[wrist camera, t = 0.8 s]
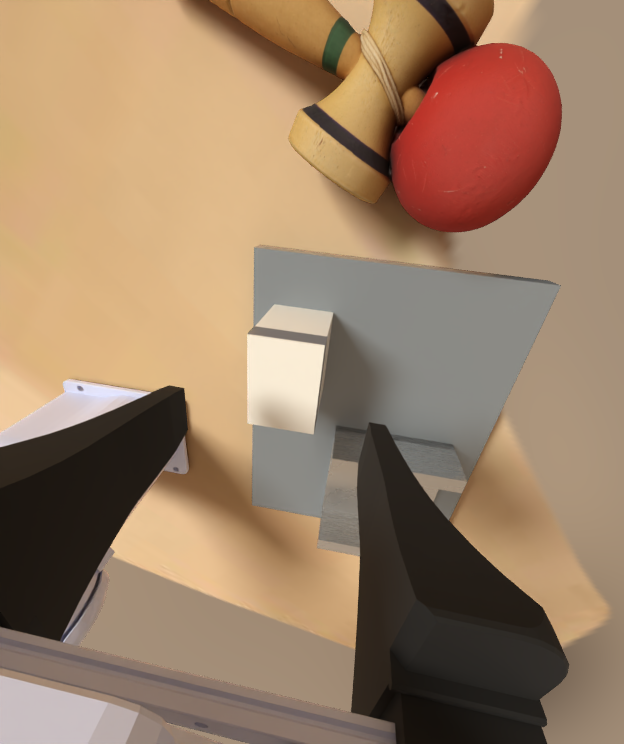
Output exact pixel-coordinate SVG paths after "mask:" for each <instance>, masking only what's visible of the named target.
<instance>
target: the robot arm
mask: <svg viewBox="0 0 624 744" xmlns="http://www.w3.org/2000/svg"><path fill="white" fill-rule="evenodd" d="M63 387H64V390H65V392H64V393H63V394H61V395H60V396H58V397H56V398H55V399H53V400H52V401H50V402H49V403H47V404H45V405H44V406H42V407H41V408H39V409H37V410H36V411H34V412H33V413H31V414H29V415H28V416H26V417H25V418H23V419H21V420H20V421H18V422H17V423H15V424H13V425H12V426H10V427H9V428H7V429H5V430H4V431H2V432H1V433H0V744H222V743H219V742H217V741H214V740H211V739H209V738H206V737H203V736H200V735H198V734H195V733H192V732H189V731H187V730H184V729H181V728H178V727H175V726H172V725H169V724H167V723H171V724H175V725H179V726H182V727H187V728H190V729H194V730H198V731H202V732H206V733H210V734H214V735H218V736H222V737H226V738H230V739H233V740H238V741H241V742H245V743H249V744H547V742H546V739H545V736H544V733H543V730H542V727H545V726H546V725H547V719H546V716H545V713H544V710H543V708H542V705H541V702H540V699H541V698H542V697H543V696H544V695H546V694H547V693H548V692H550V691H551V690H552V689H553V688H555V687H556V686H557V685H559V684H560V683H561V682H562V680H563V679H564V678H565V677H566V675H567V673H568V668H569V663H568V661H567V659H566V656H565V654H564V652H563V650H562V647H561V645H560V643H559V640H558V638H557V636H556V633H555V631H554V629H553V627H552V625H551V623H550V621H549V619H548V617H547V615H546V613H545V612H544V610H543V608H542V607H541V606H540V605H539V604H538V603H536V602H535V601H534V600H533V599H532V598H530V597H529V596H528V595H527V594H526V593H524V592H523V591H522V590H521V589H520V588H519V587H517V586H516V585H515V584H514V583H513V582H511V581H510V580H509V579H508V578H507V577H505V576H504V575H503V574H502V573H501V572H500V571H499V570H498V569H497V568H495V567H494V566H493V565H492V564H491V563H490V562H489V561H488V560H487V559H486V558H485V557H484V556H483V555H482V554H480V553H479V552H478V551H477V550H476V549H475V548H474V547H473V546H472V545H471V544H470V543H469V542H468V541H467V540H466V538H465V537H464V536H463V535H462V534H461V533H460V532H459V531H458V530H457V529H456V528H455V527H454V526H453V525H452V524H451V522H450V521H449V520H448V519H447V518H446V517H445V516H444V514H443V513H442V512H441V511H440V510H439V508H438V507H437V506H436V505H435V503H434V502H433V501H432V500H431V498H430V497H429V496H428V494H427V493H426V492H425V490H424V489H423V487H422V486H421V484H420V483H419V482H418V480H417V479H416V477H415V476H414V474H413V473H412V471H411V469H410V468H409V466H408V464H407V463H406V461H405V460H404V458H403V456H402V454H401V453H400V451H399V449H398V447H397V445H396V444H395V442H394V440H393V438H392V436H391V434H390V432H389V430H388V428H387V427H386V425H382V424H376V423H371V422H369V424H368V428H367V432H366V435H365V439H364V443H363V447H362V451H361V454H360V458H359V462H358V475H357V503H358V522H359V540H360V572H359V595H358V615H357V633H356V650H355V667H354V680H353V694H352V708H351V712H347V711H343V710H339V709H335V708H331V707H327V706H323V705H319V704H314V703H310V702H306V701H302V700H298V699H294V698H290V697H286V696H282V695H277V694H273V693H269V692H265V691H261V690H257V689H252V688H249V687H244V686H240V685H236V684H232V683H228V682H224V681H220V680H216V679H212V678H208V677H203V676H199V675H195V674H191V673H187V672H183V671H179V670H175V669H171V668H166V667H162V666H158V665H154V664H150V663H146V662H141V661H138V660H134V659H129V658H125V657H121V656H117V655H113V654H109V653H105V652H100V651H97V650H92V649H88V648H84V647H80V646H79V645H80V644H81V642H82V641H83V640H84V638H85V637H86V635H87V633H88V632H89V631H90V629H91V627H92V626H93V624H94V623H95V621H96V619H97V617H98V615H99V613H100V611H101V609H102V607H103V604H104V601H105V598H106V592H107V588H108V584H109V575H108V573H107V571H106V570H104V569H103V568H104V567H105V565H106V564H107V562H108V561H109V560H110V558H111V557H112V555H113V554H114V550H113V549H112V548H110V546H111V544H112V542H113V540H114V539H115V537H116V535H117V534H118V532H119V530H120V529H121V527H122V526H123V524H124V523H125V521H126V520H127V519H128V517H129V516H130V515H131V513H132V512H133V511H134V509H135V508H136V507H137V505H138V504H139V503H140V501H141V500H142V499H143V497H144V496H145V495H146V493H147V492H148V491H149V489H150V488H151V487H152V485H153V484H154V483H155V481H156V480H157V479H158V477H159V476H160V475H161V473H162V472H163V471H168V472H174V473H179V474H186V473H187V472H188V470H189V464H188V456H187V448H186V441H185V434H186V432H187V430H188V426H187V415H186V404H185V393H184V388H180V387H175V386H167V387H164V388H161V389H159V390H157V391H154V392H146V391H140V390H134V389H128V388H122V387H116V386H110V385H104V384H98V383H92V382H85V381H79V380H73V379H67V380H66V381H64V382H63ZM166 722H167V723H166Z"/></svg>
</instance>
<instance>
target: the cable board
mask: <svg viewBox="0 0 624 744" xmlns="http://www.w3.org/2000/svg"><path fill="white" fill-rule="evenodd" d="M560 286H561V285H558V284H556V283H553V282H551V281H547V280H539V279H531V278H523V277H514V276H507V275H499V274H491V273H481V272H474V271H466V270H458V269H450V268H442V267H434V266H426V265H418V264H410V263H402V262H394V261H385V260H377V259H369V258H361V257H353V256H345V255H337V254H329V253H321V252H313V251H305V250H297V249H289V248H280V247H272V246H264V245H259V246H257V247H254V326H256V325H257V323H258V322H259V321H260V320H261V319H262V318H263V317H264V315H265V314H266V313H267V312H268V311H269V310H270V309H271V308H272V306H273V305H274V304H276V305H284V306H291V307H298V308H305V309H313V310H320V311H327V312H333V319H332V326H331V334H330V341H329V349H328V356H327V363H326V371H325V378H324V386H323V391H322V395H321V400H320V405H319V410H318V415H317V421H316V426H315V431H314V434H307V433H301V432H295V431H289V430H283V429H277V428H271V427H265V426H259V425H253V450H252V505H254V506H259V507H265V508H270V509H275V510H281V511H286V512H291V513H297V514H302V515H307V516H313V517H318V518H321V512H322V506H323V500H324V494H325V488H326V482H327V476H328V470H329V465H330V459H331V453H332V447H333V441H334V435H335V429H336V425H339V426H345V427H351V428H357V429H363V430H367V428H368V424H369V422H371V423H376V424H382V425H386V427H387V428H388V430H389V432H390V434H393V435H399V436H405V437H411V438H418V439H424V440H430V441H436V442H442V443H448V444H453V446H454V449H455V451H456V454H457V456H458V459H459V462H460V464H461V467H462V469H463V472H464V474H465V477H466V480H467V482H468V480H469V477H470V475H471V473H472V471H473V469H474V467H475V465H476V463H477V461H478V459H479V456H480V454H481V452H482V450H483V448H484V446H485V444H486V442H487V440H488V438H489V435H490V433H491V431H492V429H493V427H494V425H495V423H496V421H497V419H498V417H499V414H500V412H501V410H502V408H503V406H504V404H505V402H506V400H507V397H508V395H509V394H510V391H511V389H512V387H513V385H514V383H515V381H516V379H517V377H518V374H519V372H520V370H521V368H522V366H523V364H524V362H525V360H526V358H527V356H528V354H529V351H530V349H531V347H532V345H533V343H534V341H535V339H536V337H537V335H538V333H539V330H540V328H541V326H542V324H543V322H544V320H545V318H546V316H547V314H548V311H549V310H550V307H551V305H552V303H553V301H554V299H555V297H556V294H557V293H558V291H559V289H560ZM466 484H467V483H466ZM461 494H462V493H457V492H451V491H445V490H438V492H437V495H436V497H435V499H434V503H435V505H436V506H437V507H438V508H439V510H440V511H441V512H442V513H443V514H444V516H445V517H446V518H447V519H448V520H449V519H450V517H451V515H452V513H453V511H454V509H455V507H456V505H457V503H458V501H459V498H460V496H461Z"/></svg>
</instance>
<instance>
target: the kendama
mask: <svg viewBox="0 0 624 744" xmlns="http://www.w3.org/2000/svg"><path fill="white" fill-rule="evenodd" d="M209 1H210V2H212V3H213V4H215V5H217V6H218V7H219V8H221V9H222V10H224V11H225V12H227V13H228V14H230V15H231V16H233V17H235V18H237V19H239V20H240V21H241V22H242V23H243V24H245V25H247V26H248V27H250V28H251V29H253V30H254V31H256V32H257V33H259V34H260V35H262V36H263V37H265V38H267V39H268V40H270V41H271V42H273V43H275V44H276V45H278V46H280V47H282V48H283V49H285V50H287V51H288V52H291V53H293V54H295V55H297V56H299V57H300V58H303V59H304V60H306V61H308V62H310V63H312V64H314V65H316V66H318V67H320V68H322V69H324V70H326V71H327V72H329V73H332V74H334V75H336V76H337V77H339V78H341V79H343V80H344V81H343V82H342V83H341V84H340V85H339V86H338V87H337V88H336V90H334V91H333V92H332V93H331V94H330V95H328V96H327V97H326V98H324V99H323V100H321V101H320V102H318V103H316V104H313V105H312V106H309V107H306V108H303V109H300V110H299V112H298V114H297V116H296V119H295V121H294V124H293V127H292V129H291V131H290V134H289V138H288V139H289V141H290V143H291V145H292V147H293V148H294V149H295V151H296V152H298V153H299V154H300V155H301V156H302V157H303V158H304V159H305V160H306V161H307V162H308V163H309V164H310V165H312V166H313V167H314V168H315V169H317V170H318V171H319V172H320V173H322V174H323V175H324V176H326V177H327V178H328V179H330V180H331V181H332V182H334V183H335V184H337V185H338V186H339V187H341V188H342V189H344V190H345V191H347V192H349V193H350V194H352V195H353V196H355V197H357V198H359V199H360V200H362V201H365V202H368V203H376V202H377V200H378V199H379V198H380V196H381V195H382V193H383V192H384V191H385V189H386V188H387V187H388V185H389V184H390V182H392V183H393V186H394V189H395V192H396V195H397V197H398V199H399V201H400V203H401V205H402V206H403V208H404V209H405V210H406V211H407V212H408V214H409V215H410V216H411V217H413V218H414V219H415V220H416V221H418V222H419V223H421V224H422V225H424V226H427V227H429V228H431V229H435V230H438V231H443V232H465V231H470V230H474V229H478V228H481V227H484V226H485V225H488V224H490V223H492V222H493V221H495V220H497V219H498V218H500V217H502V216H503V215H505V214H506V213H507V212H509V211H510V210H511V209H512V208H514V207H515V206H516V205H517V204H519V203H520V202H521V201H522V200H523V198H525V197H526V195H528V194H529V192H530V191H531V190H532V189H533V188H534V186H535V185H536V184H537V182H538V181H539V179H540V178H541V176H542V175H543V173H544V171H545V169H546V168H547V166H548V164H549V162H550V160H551V157H552V155H553V153H554V151H555V148H556V144H557V142H558V138H559V134H560V129H561V119H562V104H561V99H560V94H559V90H558V86H557V84H556V81H555V79H554V76H553V74H552V73H551V71H550V69H548V67H547V65H546V64H545V63H544V62H543V61H542V60H541V59H540V58H539V57H538V56H537V55H535V54H534V53H533V52H531V51H529V50H527V49H525V48H523V47H521V46H517V45H513V44H508V43H490V44H486V45H480V46H476V44H477V42H478V41H479V39H480V37H481V36H482V34H483V32H484V30H485V29H486V27H487V25H488V23H489V22H490V20H491V18H492V16H493V12H494V0H374V6H373V12H372V18H371V22H370V26H369V30H368V31H366V30H365V29H364V30H363V31H362V34H358V33H357V32H355V30H354V29H353V28H352V27H351V26H350V24H349V22H348V21H347V20H345V19H344V18H343V17H342V16H341V15H340V14H339V12H338V11H337V10H336V9H335V8H334V7H333V6H332V4H331V3H330V2H329V1H328V0H209ZM428 77H429V78H428ZM427 78H428V79H427Z"/></svg>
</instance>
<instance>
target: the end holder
mask: <svg viewBox="0 0 624 744" xmlns="http://www.w3.org/2000/svg"><path fill="white" fill-rule="evenodd" d="M366 432H367V430H363V429H357V428H351V427H345V426H339V425H336V429H335V435H334V441H333V447H332V453H331V459H330V465H329V470H328V476H327V482H326V488H325V494H324V500H323V506H322V512H321V520H320V528H319V535H318V543H317V548H320V549H325V550H330V551H335V552H340V553H345V554H350V555H356V556H360V540H359V522H358V503H357V475H358V462H359V458H360V454H361V451H362V447H363V443H364V439H365V435H366ZM391 436H392V438H393V440H394V442H395V444H396V445H397V447H398V449H399V451H400V453H401V454H402V456H403V458H404V460H405V461H406V463H407V464H408V466H409V468H410V469H411V471H412V473H413V474H414V476H415V477H416V479H417V480H418V482H419V483H420V484H421V486H422V487H423V489H424V490H425V492H426V493H427V494H428V496H429V497H430V498H431V500H432V501H433V502H434V499H435V497H436V495H437V492H438V490H445V491H451V492H457V493H462V492H463V490H464V488H465V486H466V483H467V480H466V477H465V474H464V472H463V469H462V467H461V464H460V462H459V459H458V456H457V454H456V451H455V449H454V446H453V444H448V443H442V442H436V441H430V440H424V439H418V438H411V437H405V436H399V435H393V434H391Z"/></svg>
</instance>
